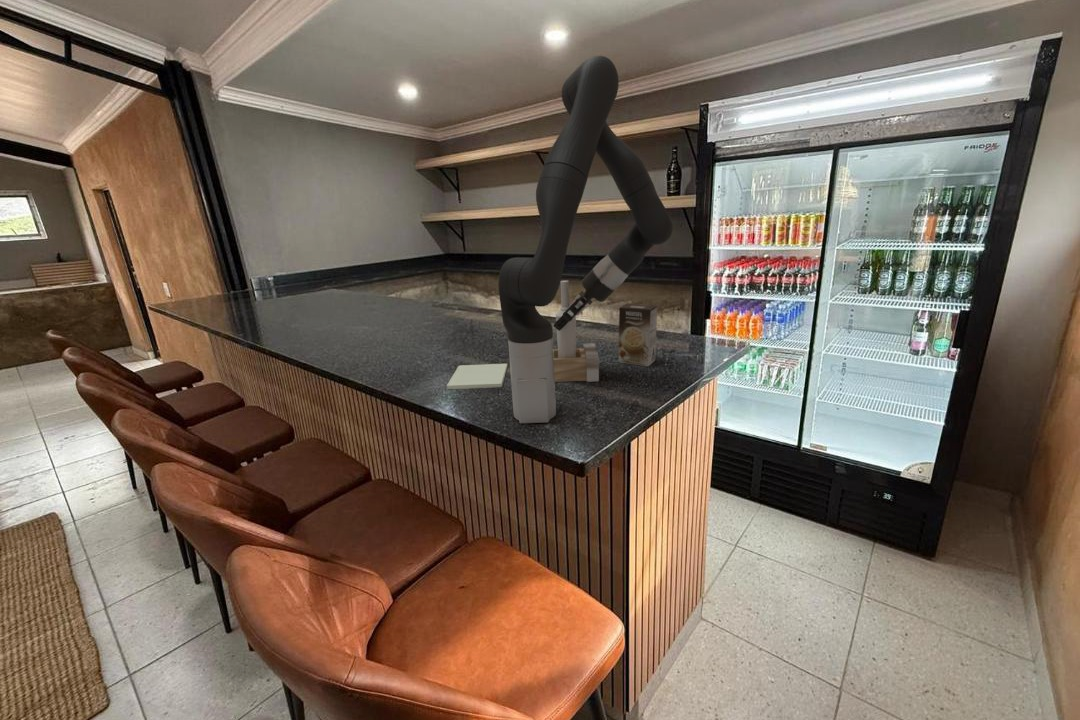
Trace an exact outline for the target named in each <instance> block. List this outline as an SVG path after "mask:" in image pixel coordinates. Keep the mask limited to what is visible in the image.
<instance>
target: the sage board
mask: <svg viewBox="0 0 1080 720" xmlns="http://www.w3.org/2000/svg"><path fill="white" fill-rule="evenodd" d="M507 370H508V363H492V364H491V363H489V364H488V363H487V364H486V363H485V364H462V365H461V364H460V365H458V366H457V368H456V370H455V371H454V373H453V375H452V376H451V378H450V379H449V382H448V383H447V385H446V389H447V390H466V389H469V390H470V389H490V388H491V389H492V388H502V387H503V384H504V380H505V377H506V373H507Z"/></svg>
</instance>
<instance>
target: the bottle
mask: <svg viewBox="0 0 1080 720" xmlns="http://www.w3.org/2000/svg"><path fill="white" fill-rule="evenodd" d="M569 289H570V282H569V280H561V281H560V297H561V298H560V299H561V300H560V301H561V302H560V303H561V307H560V309H559V311H558V312H557V313H556V314H555V323H556V322H557V321H558V320H559V318H560V317H561V316H562V315H563V313H564V312H565V311H566V310H567V309H568V306H569V305H570V292H569V291H570V290H569ZM567 313H568V314H570V315H571V316H573V315H574V314H573V313H572V312H571V311H570V310H569V311H568V312H567ZM556 341H557V343H556V344H557V349H558V358H574V357H576V348H577V316H574V318H573V319H572V320H571V321H570V322H568V323H567V324H566V325H565V326H564V327H563V328H562V329H561V330H560V331H559V330H557V329H556Z"/></svg>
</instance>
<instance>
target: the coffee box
mask: <svg viewBox="0 0 1080 720" xmlns="http://www.w3.org/2000/svg"><path fill="white" fill-rule="evenodd" d="M618 310H619V314H618V316H619V317H618V363H621V364H627V365H635V366H642V367H649V366H651V365H652V364H653V363H654V362H655V361H656V348H657V347H656V345H657V325H658V323H657V322H658V320H657V319H658V305H655V304H654V305H653V304H640V303H628V302H626V303H625V304H623V305H622V306H620V307H619V309H618Z"/></svg>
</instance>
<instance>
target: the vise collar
mask: <svg viewBox="0 0 1080 720" xmlns="http://www.w3.org/2000/svg"><path fill="white" fill-rule="evenodd" d="M582 345H583V347H576V357H574V358H558V348H553V354H554V377H555V383H559V382H560V383H561V382H583V381H584V382H585V381H586V383H587V382H589V383H591V382H599V381H600V370H599V368H600V367H599V362H600V360H599V353H598V350H597V346H596V344H595V343H594V342H589V343H583V344H582Z"/></svg>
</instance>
